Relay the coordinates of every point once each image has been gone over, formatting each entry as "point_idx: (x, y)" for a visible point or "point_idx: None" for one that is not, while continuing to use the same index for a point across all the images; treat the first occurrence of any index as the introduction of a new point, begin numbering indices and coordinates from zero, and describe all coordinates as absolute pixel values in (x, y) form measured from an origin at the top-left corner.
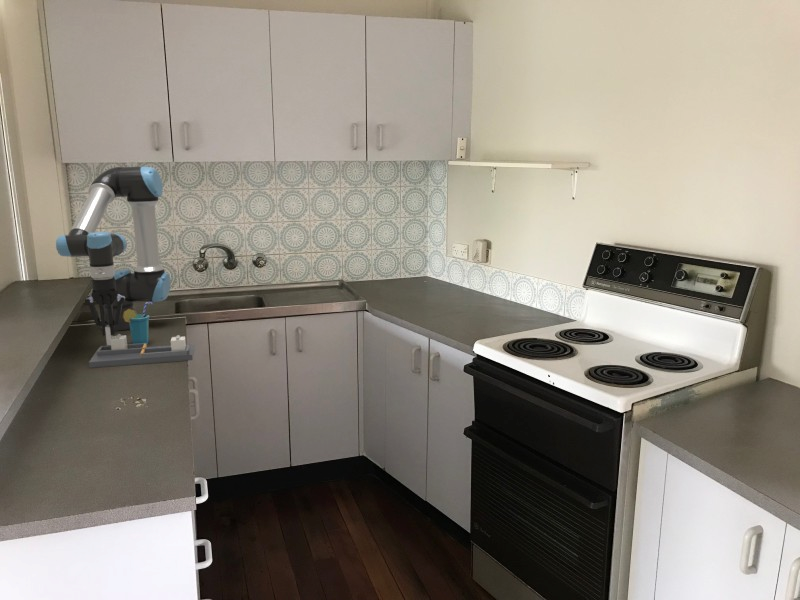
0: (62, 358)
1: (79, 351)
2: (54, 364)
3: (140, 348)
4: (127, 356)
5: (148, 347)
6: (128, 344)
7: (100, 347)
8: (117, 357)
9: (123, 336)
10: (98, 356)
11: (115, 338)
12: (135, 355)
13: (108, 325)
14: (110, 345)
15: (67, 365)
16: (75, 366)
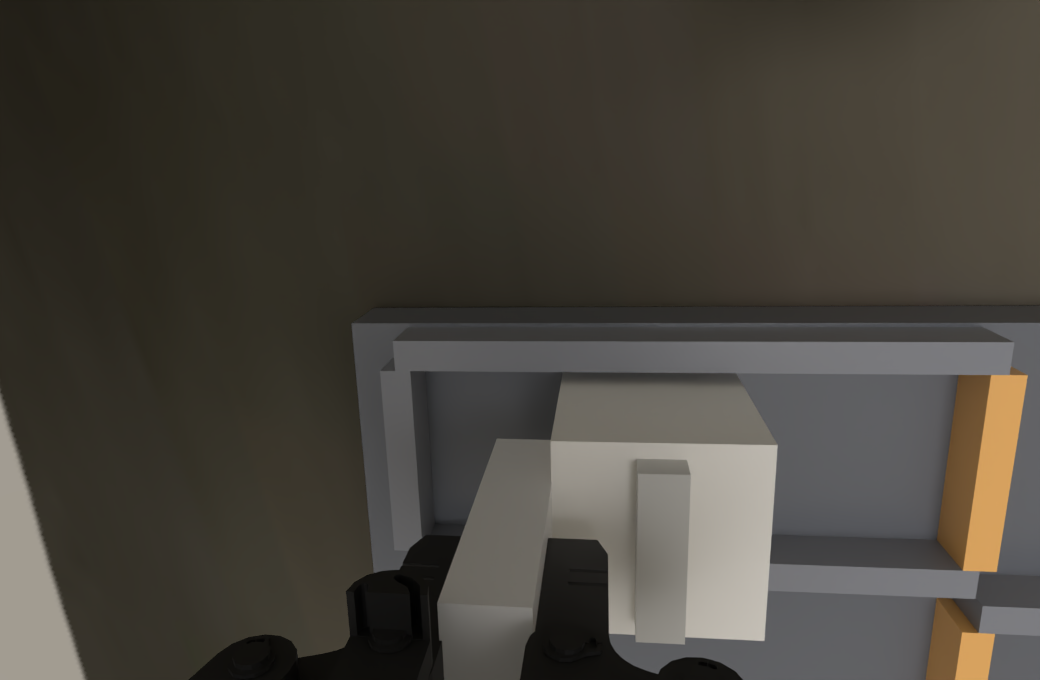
0: (30, 309)
1: (103, 49)
2: (43, 499)
3: (937, 595)
4: (761, 669)
5: (1017, 356)
6: (758, 353)
7: (399, 407)
8: (653, 671)
9: (736, 506)
10: None
11: (621, 590)
12: (852, 658)
13: (482, 626)
14: (510, 340)
15: (176, 564)
16: (262, 615)
